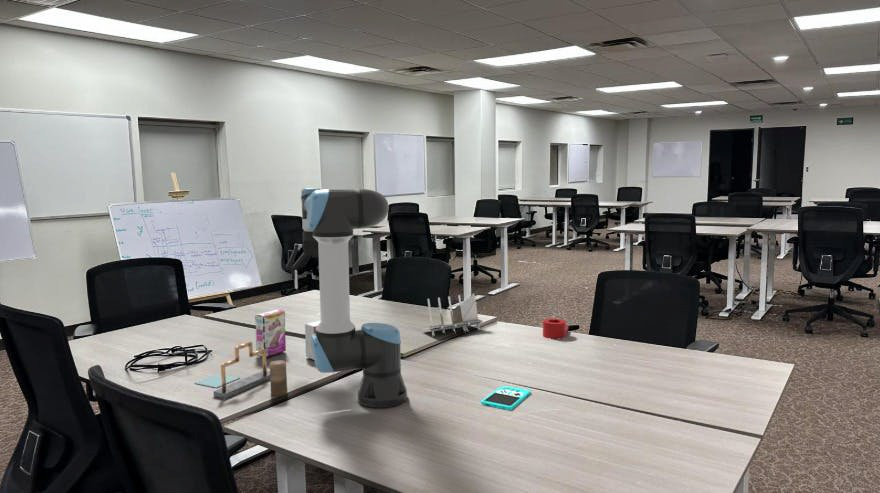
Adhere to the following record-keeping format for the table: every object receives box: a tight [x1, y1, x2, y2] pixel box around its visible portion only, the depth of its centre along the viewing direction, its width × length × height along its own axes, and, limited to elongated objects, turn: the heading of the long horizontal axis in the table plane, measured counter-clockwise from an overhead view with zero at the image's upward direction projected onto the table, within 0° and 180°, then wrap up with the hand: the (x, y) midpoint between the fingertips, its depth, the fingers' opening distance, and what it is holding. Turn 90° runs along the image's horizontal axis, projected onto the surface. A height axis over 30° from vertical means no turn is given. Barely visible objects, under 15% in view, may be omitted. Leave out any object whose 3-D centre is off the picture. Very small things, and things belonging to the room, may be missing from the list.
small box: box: [304, 320, 321, 361], centre depth 224 cm, size 8×6×13 cm
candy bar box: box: [254, 309, 287, 358], centre depth 228 cm, size 11×5×16 cm, turn 149°
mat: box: [194, 373, 240, 389], centre depth 198 cm, size 10×10×1 cm
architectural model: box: [421, 293, 484, 336], centre depth 258 cm, size 17×25×18 cm
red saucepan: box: [542, 318, 569, 340], centre depth 253 cm, size 18×9×7 cm, turn 147°
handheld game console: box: [480, 385, 532, 411], centre depth 181 cm, size 10×16×1 cm, turn 149°
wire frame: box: [212, 341, 270, 400], centre depth 192 cm, size 5×22×15 cm, turn 153°
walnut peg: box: [269, 359, 288, 397], centre depth 186 cm, size 5×5×10 cm
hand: (315, 287), depth 219 cm, fingers open, 13 cm apart
